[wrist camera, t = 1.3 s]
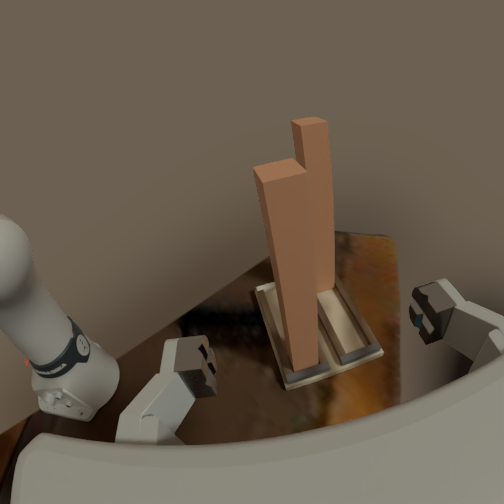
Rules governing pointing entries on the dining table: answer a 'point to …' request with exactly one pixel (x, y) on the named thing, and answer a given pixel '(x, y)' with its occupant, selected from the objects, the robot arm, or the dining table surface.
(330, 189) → the tan square post
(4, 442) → the dining table surface
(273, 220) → the tab
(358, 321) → the divided tray
